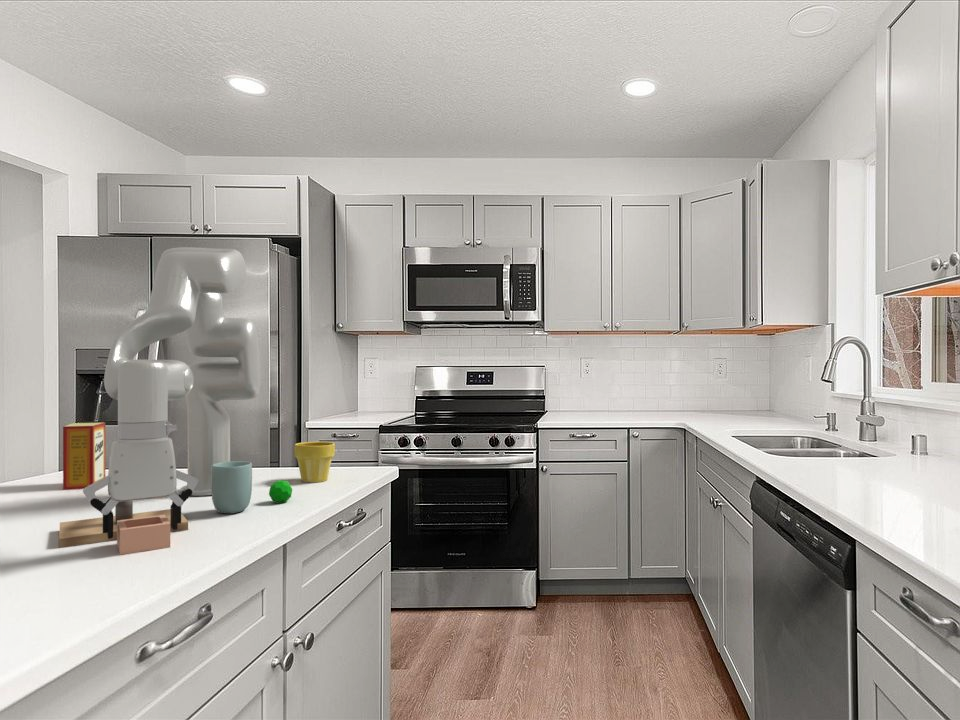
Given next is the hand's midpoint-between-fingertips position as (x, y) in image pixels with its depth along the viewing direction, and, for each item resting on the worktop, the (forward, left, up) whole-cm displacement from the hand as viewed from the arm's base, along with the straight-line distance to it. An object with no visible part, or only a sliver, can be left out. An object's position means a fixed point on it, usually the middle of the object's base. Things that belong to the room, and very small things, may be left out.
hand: (142, 532), depth 106 cm
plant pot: (-44, -41, -3) cm, 60 cm away
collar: (0, 0, -2) cm, 2 cm away
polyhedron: (-29, -20, -3) cm, 36 cm away
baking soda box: (+7, -68, -3) cm, 69 cm away
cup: (-18, -17, -3) cm, 25 cm away
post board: (+2, -13, -2) cm, 14 cm away
